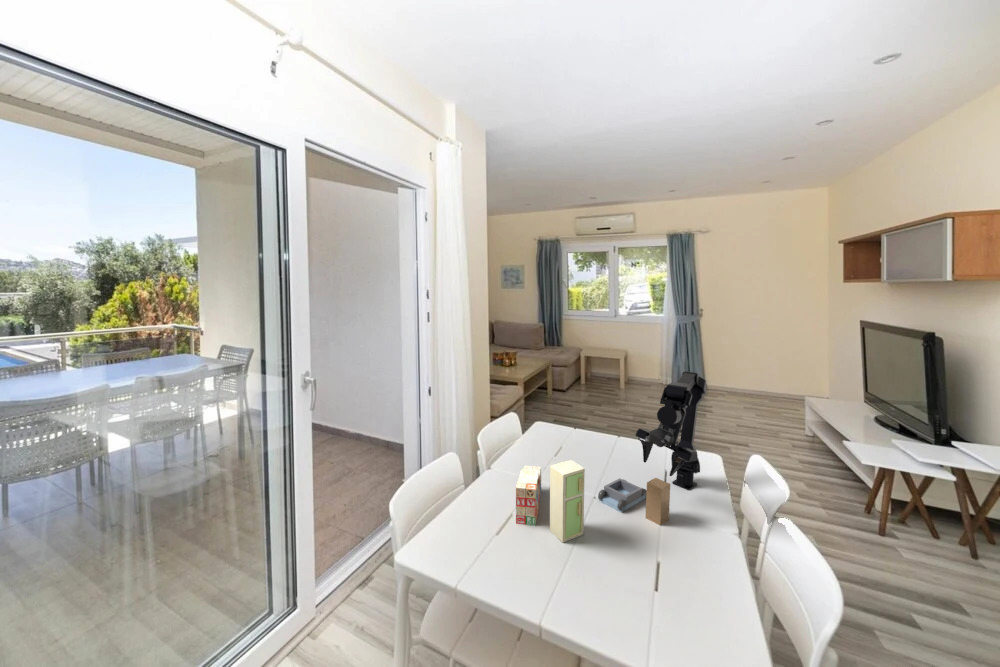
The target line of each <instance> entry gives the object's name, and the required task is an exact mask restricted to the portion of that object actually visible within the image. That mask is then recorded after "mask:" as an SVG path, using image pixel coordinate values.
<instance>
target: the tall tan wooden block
mask: <svg viewBox="0 0 1000 667" xmlns="http://www.w3.org/2000/svg"><path fill="white" fill-rule="evenodd" d="M646 490H647V492H646V498H645V519H647V520H648V521H650V522H651V523H654V524H656V525H658V526H662V525H663V524H665V523H667V521H669V518H670V498H671V483H669V482H667V481H666V480H665V481H664V480H662V479H660V478H657V477H654V478H652V479H650V480H648V481H647V482H646Z"/></svg>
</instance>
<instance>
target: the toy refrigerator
mask: <svg viewBox="0 0 1000 667" xmlns="http://www.w3.org/2000/svg"><path fill="white" fill-rule="evenodd" d="M585 470H586V468H584V467H583V466H582V465H580V464H578V462H577V463H576V462H575V461H574V460H572V459H569V460H566V461H561V462H558V463H555V464H551V465H550V466H549V531H550V532H551V533H552V534H553V535H554V536H555V537H556V539H558V540H559V541H560V542H561V543H566V542H568V541H571V540H573V539H576V538H578V537H580V536H583V535H584V533H585V532H584V531H585V530H584V529H585V528H584V525H585V523H584V520H585V519H584V517H585V510H584V509H585V474H586V473H585Z"/></svg>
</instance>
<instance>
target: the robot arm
mask: <svg viewBox="0 0 1000 667" xmlns="http://www.w3.org/2000/svg"><path fill="white" fill-rule="evenodd" d="M707 386H708V385H707V381H706V380H705V379H704V378H702V377H701V376H700V374H699V372H695V371H686V370H685V371H683V372H682V374H681V376H680V378H678V379H677V381H676V382H670V383H668V384H667V385H666V386H665V387H664V389H663V392H662V395H661V398H660V401H659V404H660V405H664V406H661V407H660V408H659V409H658V410H657V413H656V417H657V419H658V421H659V424H658V427H656V428H654V429H652V430H649V429H648V428H640V427H639V428H638V429H636V432H635V437H636V438H637V440H638V441H639V442H640V443H641V446H642V455H643V458H642V459H643V463H647V461H648V460H649V457H650V454H651V451H652V448H653V446H654V445H655V446H656V447H658V448H663V447H664V448H666V449H669V450H671V451H672V453H671V469H670V471H669V477H673V476H674V475H675V474H676V478H675V480H673V481H672V482H671V484H673V485H675V486H678V487H680V488H683V489H684V490H688V491H690V490H691V489H693V488H695V487H696V486H697V485H698V483H697V482H695V481H694V478H695V477H694V476H695V475H696V474H698V473H701V463H700V460H699V457H698V451H697V449H696V447H695V444H694V442H695V434H696V433H695V432H696V425H697V417H698V409H699V405H700V404H701V402H702V401H703V400H704V399H705V395H706V394H707V390H708V389H707V388H708V387H707ZM680 433H681V434H680ZM679 436H680V441H678V438H679ZM694 474H695V475H694Z"/></svg>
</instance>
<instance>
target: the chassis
mask: <svg viewBox="0 0 1000 667" xmlns="http://www.w3.org/2000/svg"><path fill="white" fill-rule="evenodd" d="M646 492H647V488H643V487H640V486H638V485H636V484H634V483H631V482H629V481H628V480H626V479H624V478H621V477H620V478H618V479H617V478H616V480H613V481H611V482H610V483H608V484H606V485H604V486H603V489H600V491H599V492H598V495H597V499H598V502H601V503H602V504H605V505H606V506H608V507H610V508H612V509H614V510H616V511H617V512H620V513H623V512H625V511H627V510H628V509H630V508H632V507H633V506H635V505H637V504H638V503H640V502H641V501H643V500H646Z"/></svg>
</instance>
